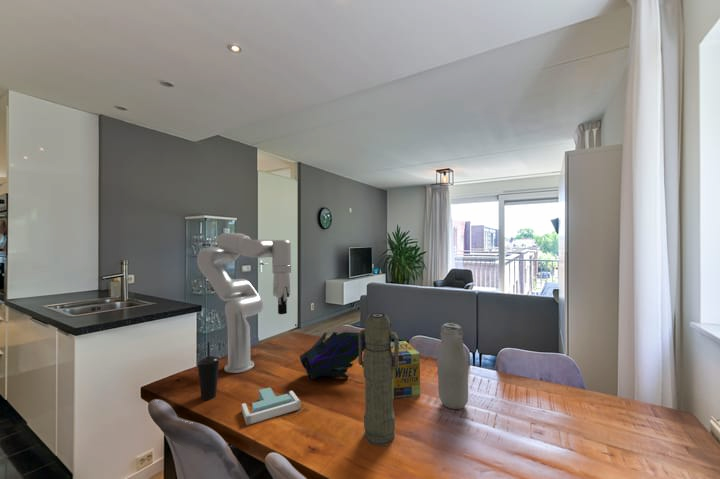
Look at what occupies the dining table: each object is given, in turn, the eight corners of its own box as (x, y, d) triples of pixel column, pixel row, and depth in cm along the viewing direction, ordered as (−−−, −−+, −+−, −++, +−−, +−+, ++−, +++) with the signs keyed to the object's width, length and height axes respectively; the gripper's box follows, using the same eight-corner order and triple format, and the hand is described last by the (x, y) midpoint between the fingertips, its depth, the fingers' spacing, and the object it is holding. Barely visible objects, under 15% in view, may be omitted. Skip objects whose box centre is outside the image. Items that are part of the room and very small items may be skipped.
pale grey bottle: (468, 401, 107) (466, 320, 107) (468, 417, 97) (467, 328, 97) (439, 396, 110) (437, 319, 110) (436, 411, 100) (435, 326, 100)
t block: (247, 402, 108) (247, 393, 108) (281, 393, 114) (281, 384, 114) (254, 419, 97) (254, 408, 97) (291, 408, 103) (290, 398, 103)
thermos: (399, 448, 83) (396, 319, 83) (356, 443, 85) (354, 317, 85) (401, 428, 91) (399, 312, 92) (362, 424, 94) (361, 310, 94)
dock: (241, 411, 102) (241, 403, 102) (292, 397, 111) (292, 390, 111) (246, 425, 94) (246, 417, 94) (300, 408, 103) (300, 401, 103)
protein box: (393, 399, 108) (392, 355, 109) (381, 380, 124) (381, 342, 124) (421, 396, 111) (420, 353, 111) (406, 377, 126) (405, 340, 126)
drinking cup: (210, 403, 108) (210, 346, 108) (192, 401, 109) (191, 345, 110) (224, 392, 115) (224, 339, 116) (206, 390, 117) (206, 338, 117)
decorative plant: (309, 394, 131) (368, 363, 144) (319, 397, 109) (389, 360, 121) (292, 348, 137) (351, 322, 149) (299, 341, 115) (367, 311, 127)
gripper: (268, 268, 131) (269, 311, 131) (277, 271, 118) (278, 318, 118) (285, 267, 135) (286, 309, 135) (296, 270, 122) (296, 316, 122)
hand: (282, 313), depth 127 cm, fingers closed
